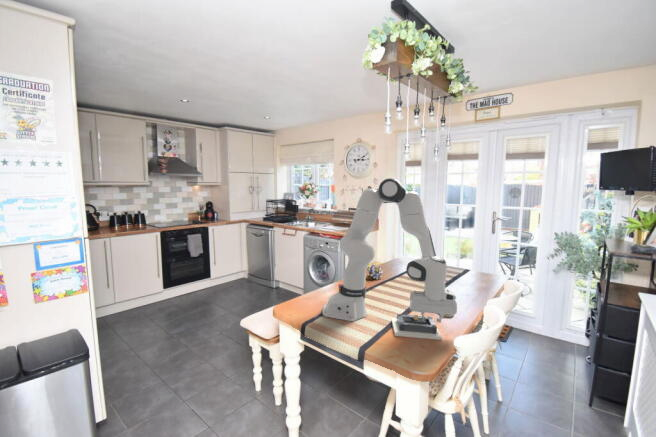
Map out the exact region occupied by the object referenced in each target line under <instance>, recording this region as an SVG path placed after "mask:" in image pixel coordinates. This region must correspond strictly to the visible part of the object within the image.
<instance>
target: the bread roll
mask: <svg viewBox="0 0 656 437" xmlns="http://www.w3.org/2000/svg"><path fill="white" fill-rule="evenodd" d="M453 316H454V315H450V314H444V317H443V318H452V317H453Z"/></svg>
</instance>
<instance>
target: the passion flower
mask: <svg viewBox="0 0 656 437" xmlns="http://www.w3.org/2000/svg"><path fill="white" fill-rule="evenodd" d="M367 271H368V273H369V277H372V279H373V280H376V281H377V280H379V278H382V274H383V273H384V271H383V270H382V268H381V267H380V266H379V265H378V264H374V263H371V266H368V268H367ZM367 271H366V272H367Z"/></svg>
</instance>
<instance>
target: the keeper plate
mask: <svg viewBox="0 0 656 437" xmlns="http://www.w3.org/2000/svg"><path fill="white" fill-rule="evenodd" d="M419 316H420V315H418V314H413V318H414V323H415V324H418V319H419ZM390 321H391V325H392V329H393V334H394V336H395V337H403V338H404V337H406V338H407V337H408V338H417V339H429V340H438V341H440V340H441V341H442V338H443V336H442V334H441V333H440V331H439V329H438V327H437V334H432V333H421V332H410V331H400V330H399V326H398V322H397V317H391V320H390Z"/></svg>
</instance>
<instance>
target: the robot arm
mask: <svg viewBox="0 0 656 437" xmlns="http://www.w3.org/2000/svg"><path fill="white" fill-rule="evenodd" d="M383 204H396V205H397V206H398V211H399V219H400V224H401V228H402V229H403V231H405V232H406V234H407V233H408V234H410V235H412V236H413V237H415V238H416V239H417V240H418V243H419V247H420V252H421V256H422V257H421V258H418V259H414V260H411V261H409V262H408V263H407V264H406V270H405V271H406V274H407V276H408V278H409V279H410V280H412V281H414V282H422V283H424V284H423V285H424V286H423V290H420V291H418V290H413V291H412V292H411V293H410V294H409V296H410V297H409V299H410V302H409V309H410V311H411V312H417V313H420V316H422V320H423V321H426V319H427V318H426V317H427V316H426V315H425V314H426V313H428V314H438V315H439V316H437V317H436V322H437V323H439V324H440V323H442V319H443V318H445V317H444V314H450V315H453V316H454V315H456V314H457V311H458V303H457V301H456V299H457V297H456V294H455V293H454V291H452V290H450V289H447V288H446V280H447V276H448V275H447V273H448V272H447V271H448V269H447V268H448V266H447V261H446V260H445V259H444V258H443V257H442V256H438V255H436V252H435V251H436V250H435V246H434V243H433V238H432V235H431V231H430V229H429V227H428V224H427V221H426V218H425V217H426V216H425V211H424V206H423V203H422V200H421V196H420V194H419V193H418V192H416V191H414V190H413V191H411V190H410V191H406V189H405V187H404V186H403V185H402V184H401V182H400V181H399V180H398V179H395V178H392V177H391V178H385V179H384V180H382V181H381V182H380V184H379V185H378V188H366V189H364V190H363V192H362V193H361V194H360V197H359V200H358V202H357V205H356V208H355V211H354V214H353V217H352V221H351V224H350V226H349V228H348V229H347V231H346V232H345V235H344V236H342V237H341V238H340V239H339V240H340V241H339V243H338V244H339V249H340V251H341V252H342V254H344V255H345V256H346V257H348V261H347V265H346V268H344V270H343V281H342V282H339V283H338V291H337V292H336V293H334V294H333V295H330V297H329V298H328V301H327V303H326V304H325V305H324V306H322V311H321V313H322V316H323V317H327V318H330V319H331V318H333V319H337V320H343V321H350V322H355V321H357V320H359V319H363V318H365V317H367V315H368V313H367V310H366V309H367V307H366V296H367V288H366V287H367V286H366V279H367V278H366V277H367V268H368V267H369V264H370V263H371V262H372V261H373V260H374V258H375V254H376V252H375V249H374V247H373V245H371V243H369V241H366V239H367V237H368V236H369V234H370V233H371V232H372V231H374V229H375V226H376V222H377V219H378V214H379V213H380V208H381V206H382V205H383Z"/></svg>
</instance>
